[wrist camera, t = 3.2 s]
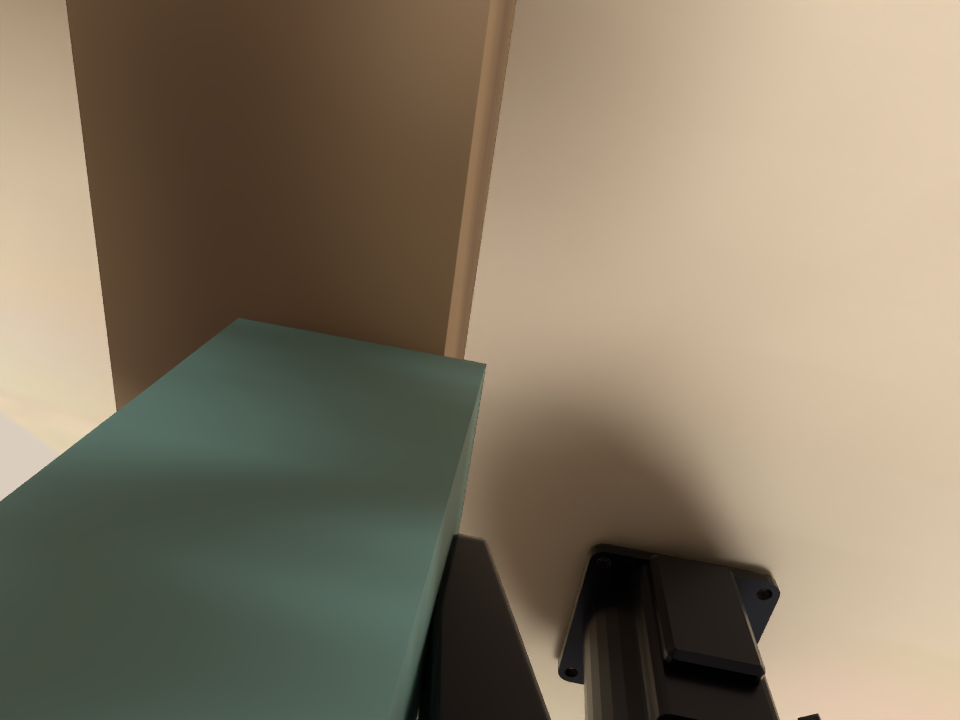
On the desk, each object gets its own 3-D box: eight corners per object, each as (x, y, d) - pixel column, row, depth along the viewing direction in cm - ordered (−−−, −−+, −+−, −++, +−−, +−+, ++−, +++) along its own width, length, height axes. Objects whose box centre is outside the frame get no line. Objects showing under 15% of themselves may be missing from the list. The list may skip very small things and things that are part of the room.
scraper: (565, -45, 9) (514, -977, 1) (447, 647, 15) (304, 1324, 7) (197, -100, 9) (-2322, -1188, 1) (227, 600, 15) (-154, 1198, 7)
